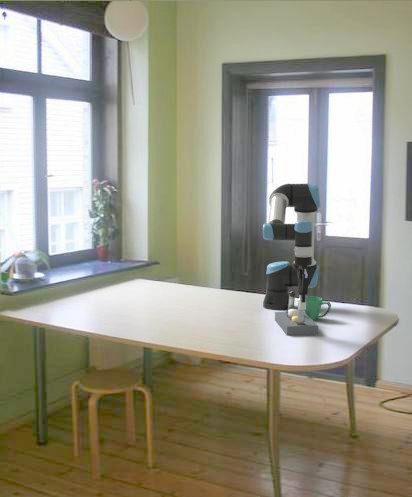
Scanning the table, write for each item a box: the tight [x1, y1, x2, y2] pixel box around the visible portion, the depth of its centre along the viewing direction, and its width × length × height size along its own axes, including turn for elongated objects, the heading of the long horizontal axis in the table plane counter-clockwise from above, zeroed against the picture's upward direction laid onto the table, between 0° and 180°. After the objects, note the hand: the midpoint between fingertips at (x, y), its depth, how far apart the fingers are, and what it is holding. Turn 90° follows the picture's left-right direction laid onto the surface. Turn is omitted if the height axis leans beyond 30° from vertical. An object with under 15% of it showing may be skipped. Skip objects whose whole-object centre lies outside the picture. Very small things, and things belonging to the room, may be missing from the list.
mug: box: [304, 296, 332, 321], centre depth 346 cm, size 15×10×10 cm
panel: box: [274, 310, 319, 336], centre depth 332 cm, size 28×14×4 cm, turn 6°
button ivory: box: [287, 308, 298, 318], centre depth 336 cm, size 5×5×4 cm
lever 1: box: [287, 290, 297, 311], centre depth 340 cm, size 3×3×11 cm
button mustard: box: [292, 316, 298, 322], centre depth 329 cm, size 5×5×4 cm
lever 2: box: [297, 297, 304, 322], centre depth 321 cm, size 3×3×11 cm
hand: (302, 309), depth 317 cm, fingers closed
